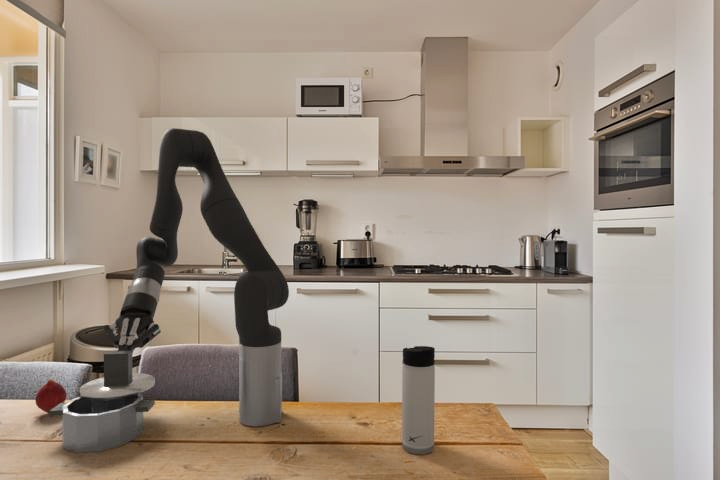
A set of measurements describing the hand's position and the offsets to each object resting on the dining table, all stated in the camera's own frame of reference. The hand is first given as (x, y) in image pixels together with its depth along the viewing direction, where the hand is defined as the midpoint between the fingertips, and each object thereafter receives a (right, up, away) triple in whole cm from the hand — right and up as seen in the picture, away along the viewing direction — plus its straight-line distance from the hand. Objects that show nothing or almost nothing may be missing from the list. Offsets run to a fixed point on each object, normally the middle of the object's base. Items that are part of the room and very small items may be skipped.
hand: (121, 362), depth 100 cm
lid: (0, -5, -2) cm, 5 cm away
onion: (-17, -12, +2) cm, 22 cm away
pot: (+1, -13, -9) cm, 15 cm away
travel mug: (+65, -13, -13) cm, 67 cm away
